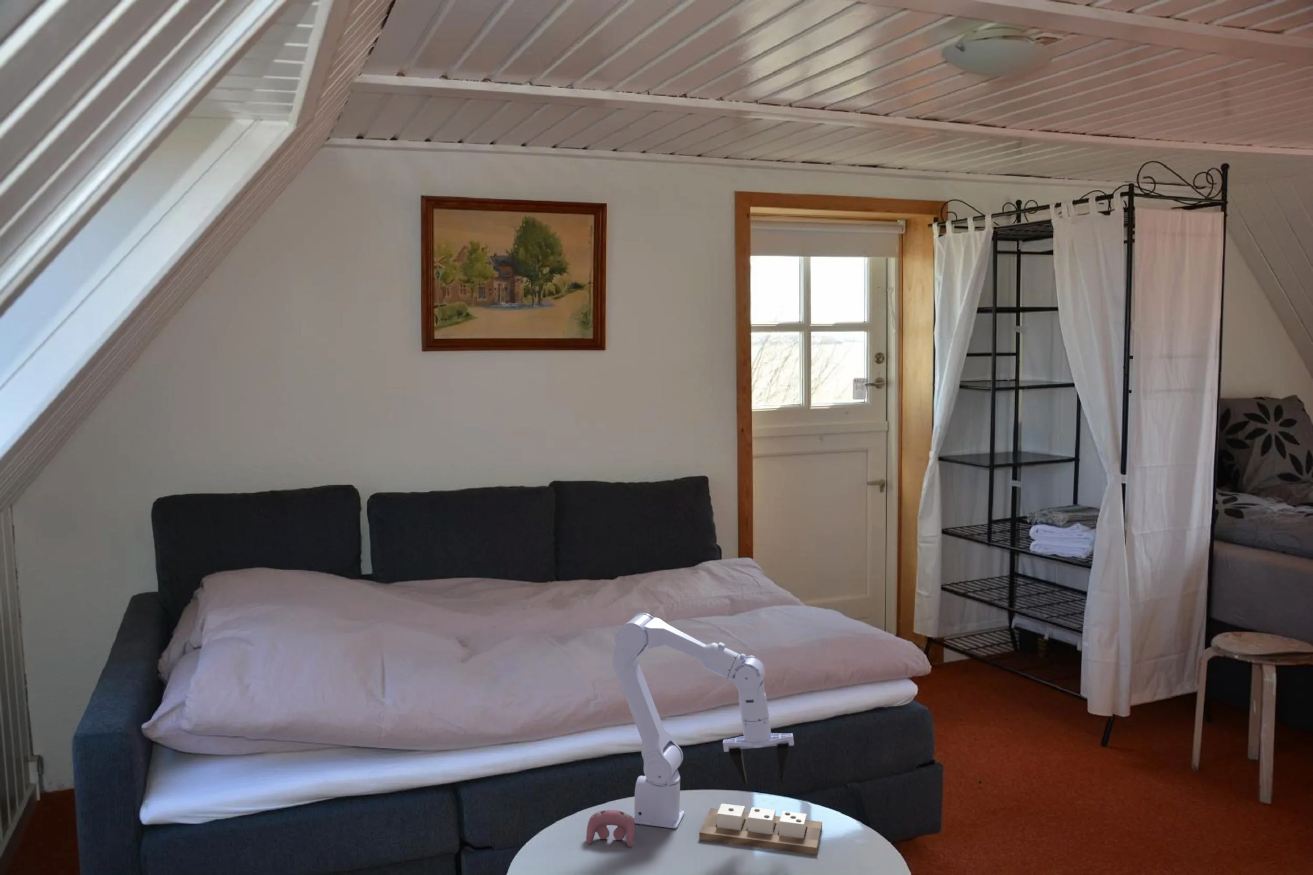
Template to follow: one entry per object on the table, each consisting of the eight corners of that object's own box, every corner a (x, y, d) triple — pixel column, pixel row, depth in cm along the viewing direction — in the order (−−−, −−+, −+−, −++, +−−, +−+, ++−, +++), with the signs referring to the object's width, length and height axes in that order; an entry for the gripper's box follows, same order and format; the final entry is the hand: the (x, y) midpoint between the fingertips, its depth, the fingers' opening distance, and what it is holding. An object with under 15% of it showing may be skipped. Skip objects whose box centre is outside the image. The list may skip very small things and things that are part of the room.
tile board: (699, 839, 218) (699, 832, 218) (710, 814, 230) (710, 807, 230) (816, 854, 213) (816, 847, 212) (822, 828, 224) (822, 821, 224)
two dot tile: (747, 831, 219) (748, 816, 219) (751, 820, 224) (751, 806, 224) (771, 834, 218) (772, 819, 218) (775, 823, 223) (775, 809, 223)
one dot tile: (716, 827, 221) (717, 812, 221) (721, 816, 226) (721, 802, 225) (740, 830, 220) (740, 815, 219) (744, 819, 224) (744, 805, 224)
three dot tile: (779, 835, 218) (779, 820, 217) (782, 824, 223) (782, 810, 222) (803, 838, 216) (803, 823, 216) (806, 827, 221) (806, 813, 221)
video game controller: (635, 847, 218) (637, 811, 220) (632, 847, 214) (634, 810, 216) (587, 844, 219) (590, 808, 221) (584, 844, 214) (587, 807, 217)
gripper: (719, 726, 217) (727, 791, 217) (790, 719, 215) (798, 785, 215) (721, 715, 224) (729, 778, 224) (789, 709, 222) (798, 772, 222)
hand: (763, 781), depth 220 cm, fingers open, 7 cm apart
